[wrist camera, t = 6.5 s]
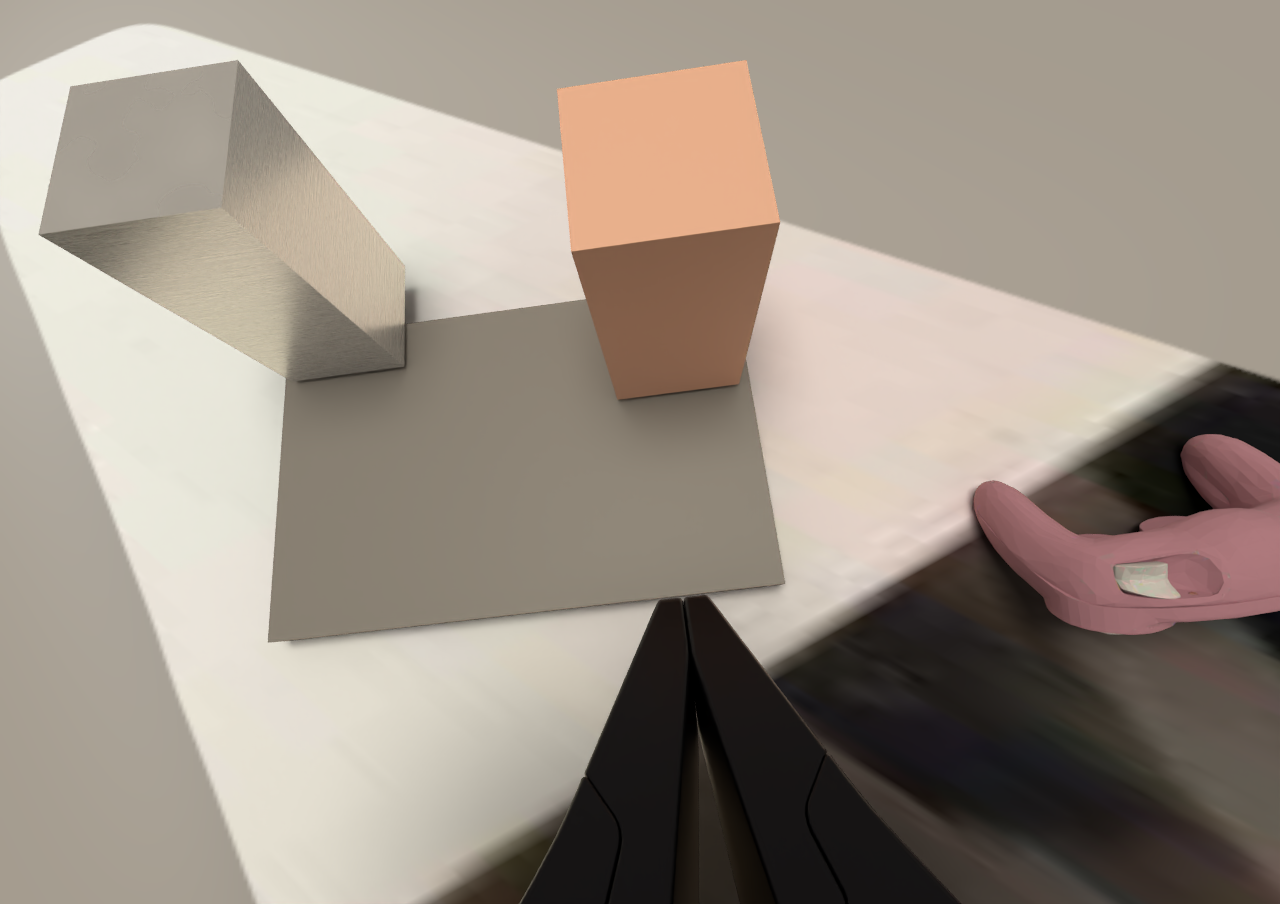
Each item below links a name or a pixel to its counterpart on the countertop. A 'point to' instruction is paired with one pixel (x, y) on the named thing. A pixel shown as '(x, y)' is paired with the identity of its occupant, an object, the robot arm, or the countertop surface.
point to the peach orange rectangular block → (669, 222)
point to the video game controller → (1154, 549)
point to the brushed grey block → (225, 221)
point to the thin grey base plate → (509, 484)
